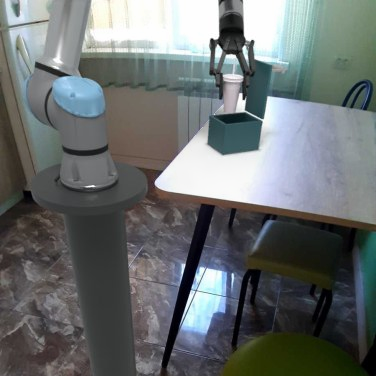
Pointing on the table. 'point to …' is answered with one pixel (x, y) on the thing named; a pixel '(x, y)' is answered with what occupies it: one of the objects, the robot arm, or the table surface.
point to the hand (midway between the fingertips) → (232, 97)
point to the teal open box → (234, 132)
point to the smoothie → (231, 90)
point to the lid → (260, 88)
